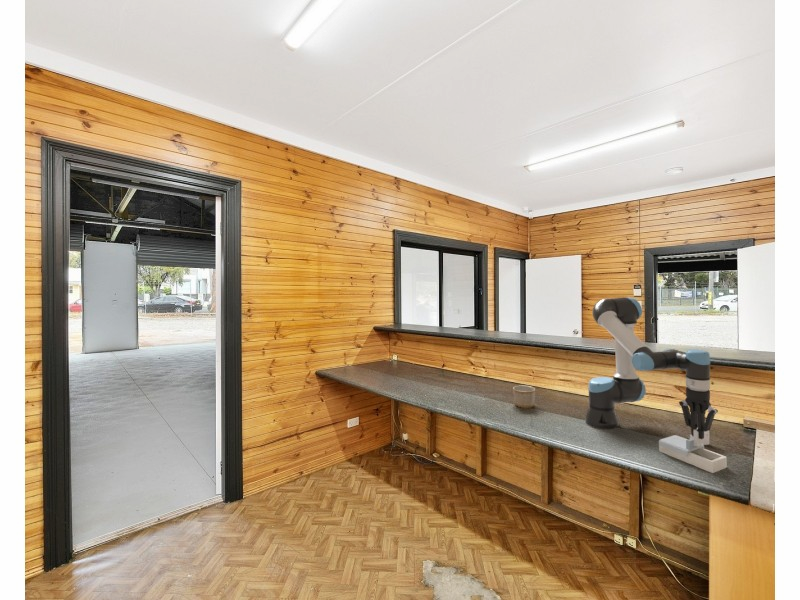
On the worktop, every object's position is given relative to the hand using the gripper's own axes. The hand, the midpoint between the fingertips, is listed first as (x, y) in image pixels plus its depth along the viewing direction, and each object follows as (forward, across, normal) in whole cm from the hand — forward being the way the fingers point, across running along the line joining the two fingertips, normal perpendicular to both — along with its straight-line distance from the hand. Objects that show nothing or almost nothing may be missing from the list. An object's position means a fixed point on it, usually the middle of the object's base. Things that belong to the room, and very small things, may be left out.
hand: (697, 445), depth 149 cm
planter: (+7, -84, -16) cm, 86 cm away
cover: (+4, -6, 0) cm, 7 cm away
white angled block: (+7, -9, +18) cm, 22 cm away
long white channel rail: (+7, -2, 0) cm, 7 cm away
